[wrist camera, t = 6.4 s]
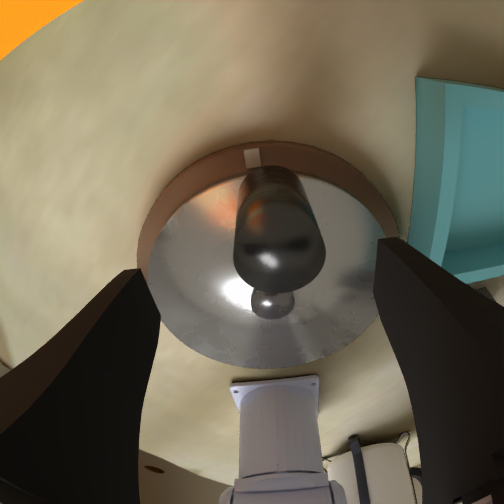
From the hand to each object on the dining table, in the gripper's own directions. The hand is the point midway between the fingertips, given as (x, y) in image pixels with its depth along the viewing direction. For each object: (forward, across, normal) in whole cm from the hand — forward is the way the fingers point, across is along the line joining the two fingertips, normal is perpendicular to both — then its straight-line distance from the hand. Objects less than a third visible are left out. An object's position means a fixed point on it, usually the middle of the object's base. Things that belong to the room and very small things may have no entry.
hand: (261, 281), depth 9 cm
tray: (+8, -15, +1) cm, 17 cm away
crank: (+7, 0, +6) cm, 9 cm away
